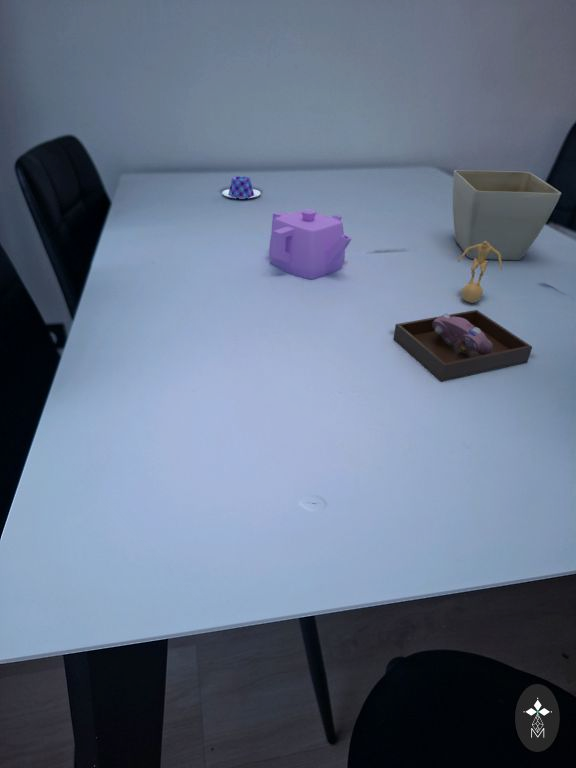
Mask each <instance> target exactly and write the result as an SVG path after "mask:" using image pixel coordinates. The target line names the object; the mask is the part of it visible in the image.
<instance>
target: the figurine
mask: <svg viewBox="0 0 576 768" xmlns="http://www.w3.org/2000/svg"><path fill="white" fill-rule="evenodd" d="M472 249H478V259H477V258H475V259H473V263H472V265H471V269H470V270H471V277H470V280H469V282H468V283H466V284H465V285H464V286H463V287H462V289H461V298H462V299H463V300H464V301H465V302H467V303H470V304H473V303H476V302H479V300H480V299H481V298H482V296H483V294H484V293H483V291H484V289H483V287H482V286H481V280H482V277H483V276H484V272H486V269H487V265H488V264H489V261H488V260H489V259H485V258H486V257H487V255H488V254H489V252H490V251H492V252H493V253H495V254H497V255H498V259H499V260H498V264H499V266H498V270H499V271H500V272H501V271H502V269H503V264H502V263H503V260H501V254H500V253H499V252H498V251H497V250H495V249H494V248H493V247H492V246H490V244H489V243H488V242H487V241H484V242H483V243H482V244H477V245H475V246H471V247H468V248H467V249H466V251H465V252H464V251H463V253H462V254H461V255H460V257H459V258H458V261H457V263H460V262H461V261H462V258H463V257H465V256H466V253H467V252H468V250H472ZM479 265H480V266H479ZM478 267H479V270H480V273H479V277H478V279H477V281H476V282H474V279H475V274H476V272H475V270H476V269H477V268H478Z"/></svg>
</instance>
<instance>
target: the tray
mask: <svg viewBox="0 0 576 768" xmlns="http://www.w3.org/2000/svg"><path fill="white" fill-rule="evenodd" d="M448 315H449V316H453V317H460V318H464V319H466V320H467V321H469V322H470V324H472V325H473V326H474V327H477V328H479V329H480V330H481V331H482V332H483V333H484V334H485V336H486V338H487V339H488V340H489V341H490V342H491V343H492V345H493V348H492V351H491V353H490V354H486V355H481V354H479V353H478V352H476V351H470V352H469V353H464V352H462V351H461V350H460V349H459V347H458V344H459V343H460V342H461V339H460V338H458V337H457V340H458V341H457V342H456V343H455V344H454V345H452V346H451V345H448V344H447V343H446V342H445V341H444V340H443V338H442V337H441V336H440V335H439V334H438V333H436V332H435V330H434V328H433V326H432V322H433V321H434V320H435V319H436V318H438V317H440V316H441V315H439V316H434V317H428V318H422V319H417V320H411V321H405V322H399V323H396V324H395V327H394V333H393V341H395V342H396V343H397V344H398V345H399V346H400V347H401V348H402V349H404V351H406V352H407V353H408V354H409V355H411V357H412V358H414V359H415V360H416V361H417V362H418V363H419V364H420V365H421V366H423V367H424V368H425V369H426V370H427V371H428V372H430V373H431V375H432V376H434V377H435V378H436V379H437V380H438V381H440V382H445V381H451V380H455V379H459V378H464V377H467V376H472V375H473V376H474V375H477V374H481V373H486V372H491V371H495V370H499V369H504V368H509V367H514V366H517V365H523V364H526V363H528V361H529V359H530V355H531V352H532V350H533V346H532V345H530V344H529V343H528V342H526V341H524V340H523V339H521V338H520V337H519V336H517V335H515V334H514V333H512V332H511V331H510V330H508V329H506V328H505V327H503V326H502V325H500V324H499V323H498V322H496V321H494V320H493V319H492V318H490V317H488V316H487V315H486V314H484V313H482V312H481V311H479V310H478V309H474V310H469V311H468V310H467V311H462V312H457V313H451V314H448Z"/></svg>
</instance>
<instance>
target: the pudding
mask: <svg viewBox="0 0 576 768" xmlns="http://www.w3.org/2000/svg"><path fill="white" fill-rule="evenodd" d="M221 194H222V195H223V196H225V197H228V198H230V199H231V198H232V199H236V198H239V200H246V199H245V198H248V199H252V198H256V197H259V196H260V195H261V191H259V190H257V189H256V188H255V189H254V187H253V183H252V179H251V178H250V176H249V177H248V176H246V175H245V176H244V175H237V176H233V177H231V180H230V184H229V189H225V190H223V191H222V193H221Z"/></svg>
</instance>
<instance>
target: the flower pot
mask: <svg viewBox="0 0 576 768" xmlns="http://www.w3.org/2000/svg"><path fill="white" fill-rule="evenodd" d="M561 195H562V192H561V191H559V190H558V189H557V188H555V187H554V186H552V185H551V184H549V183H548V182H546V181H545V180H543V179H541V177H539V176H537V175H535V174H533V173H532V172H529V171H511V170H510V171H507V170H478V169H477V170H476V169H475V170H474V169H454V170H453V178H452V216H453V229H454V236H455V242H456V243H457V245H458V246H459V247H460V248H461V251H463V253H464V252H465V251H466V249H467V248H468V247H471V246H475V245H477V244H482V243H483V242H484V241H487V242H488V243H489V244H490V246H492V247H493V248H494V249H495V250H497V251H498V252H499V253H500V254H501V261H520V260H521V259H522V258H523V257H524V256H525V254H526V253H527V252H528V250H529V249H530V248H531V247H532V245H533V244H534V242H535V241H536V239H537V238H538V236H539V235H540V234H541V231H542V230H543V229H544V227H545V225H546V224H547V222H548V220H549V218H550V216H551V215H552V213H553V211H554V209H555V208H556V206H557V204H558V202H559V199H560V198H561ZM465 256H466V257H467V258H468V259H471V260H474V259H475V258H477V260H478V249H472V250H468V252H467V253H466V254H465ZM485 260H497V261H499V259H498V255H497V254H495V253H493V252H492V251H490V252H489V254H488V255H487V257H486V258H485Z"/></svg>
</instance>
